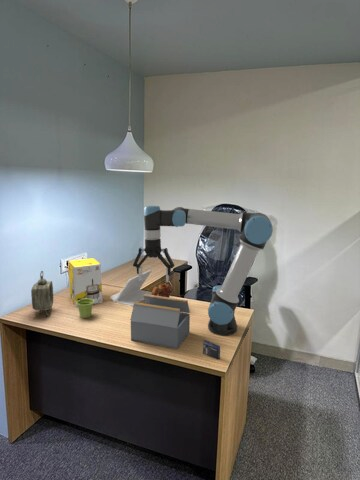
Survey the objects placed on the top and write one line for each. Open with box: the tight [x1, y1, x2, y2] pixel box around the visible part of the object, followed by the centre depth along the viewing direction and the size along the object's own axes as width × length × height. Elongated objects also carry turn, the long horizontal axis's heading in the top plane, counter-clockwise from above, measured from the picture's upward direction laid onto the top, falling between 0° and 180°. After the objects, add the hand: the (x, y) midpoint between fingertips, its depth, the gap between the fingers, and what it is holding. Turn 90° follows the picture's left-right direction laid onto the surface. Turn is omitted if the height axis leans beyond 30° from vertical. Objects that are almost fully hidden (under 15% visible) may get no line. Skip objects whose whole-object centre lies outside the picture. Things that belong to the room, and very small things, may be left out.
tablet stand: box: [110, 269, 153, 307], centre depth 216 cm, size 18×25×17 cm
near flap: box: [129, 302, 181, 328], centre depth 156 cm, size 24×9×1 cm
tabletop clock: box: [30, 270, 54, 317], centre depth 189 cm, size 14×9×25 cm, turn 12°
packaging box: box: [67, 257, 103, 308], centre depth 208 cm, size 16×16×25 cm
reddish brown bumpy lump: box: [151, 283, 172, 298], centre depth 197 cm, size 15×8×15 cm, turn 141°
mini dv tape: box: [202, 339, 221, 360], centre depth 147 cm, size 8×2×6 cm, turn 51°
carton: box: [130, 312, 191, 350], centre depth 164 cm, size 24×18×10 cm
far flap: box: [143, 294, 191, 314], centre depth 169 cm, size 24×9×1 cm
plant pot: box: [77, 299, 94, 319], centre depth 187 cm, size 9×9×9 cm
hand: (154, 280), depth 163 cm, fingers open, 13 cm apart
